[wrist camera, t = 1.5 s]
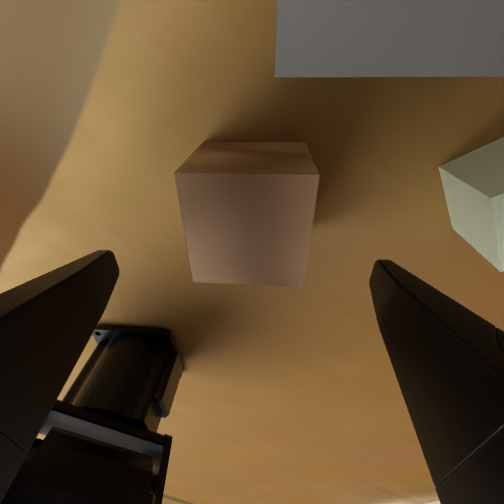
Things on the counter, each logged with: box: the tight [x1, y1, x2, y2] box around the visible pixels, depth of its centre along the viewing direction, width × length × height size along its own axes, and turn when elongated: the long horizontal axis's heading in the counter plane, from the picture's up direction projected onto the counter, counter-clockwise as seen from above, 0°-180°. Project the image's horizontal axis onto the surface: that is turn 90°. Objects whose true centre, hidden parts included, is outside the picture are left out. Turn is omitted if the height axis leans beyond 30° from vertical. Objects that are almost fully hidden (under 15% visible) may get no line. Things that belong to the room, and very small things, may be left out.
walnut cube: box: [174, 141, 320, 287], centre depth 13 cm, size 5×5×5 cm
